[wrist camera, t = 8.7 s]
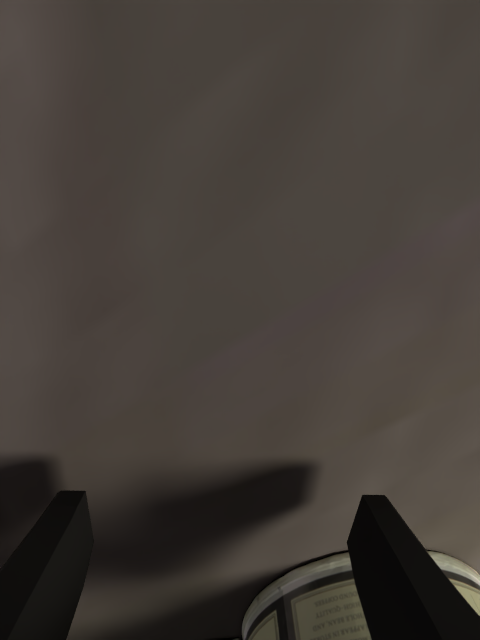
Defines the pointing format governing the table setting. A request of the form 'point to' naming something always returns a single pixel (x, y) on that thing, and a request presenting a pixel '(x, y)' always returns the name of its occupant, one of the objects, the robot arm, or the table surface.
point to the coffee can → (331, 601)
